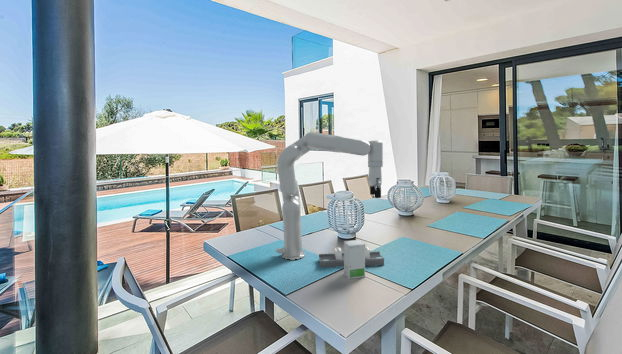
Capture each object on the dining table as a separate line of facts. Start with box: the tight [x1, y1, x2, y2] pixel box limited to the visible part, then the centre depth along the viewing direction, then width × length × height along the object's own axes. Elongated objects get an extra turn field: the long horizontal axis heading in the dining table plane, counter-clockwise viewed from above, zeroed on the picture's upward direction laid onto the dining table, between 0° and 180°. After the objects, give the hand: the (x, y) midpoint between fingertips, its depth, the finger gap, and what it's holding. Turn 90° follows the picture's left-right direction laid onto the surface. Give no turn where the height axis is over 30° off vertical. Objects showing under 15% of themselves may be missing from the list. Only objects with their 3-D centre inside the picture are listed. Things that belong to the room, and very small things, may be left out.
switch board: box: [318, 250, 385, 268], centre depth 146 cm, size 32×9×4 cm, turn 92°
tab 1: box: [334, 246, 343, 260], centre depth 146 cm, size 3×4×5 cm
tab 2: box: [365, 245, 371, 258], centre depth 146 cm, size 3×4×5 cm
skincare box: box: [343, 239, 366, 280], centre depth 132 cm, size 8×7×16 cm
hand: (375, 196), depth 155 cm, fingers open, 9 cm apart
